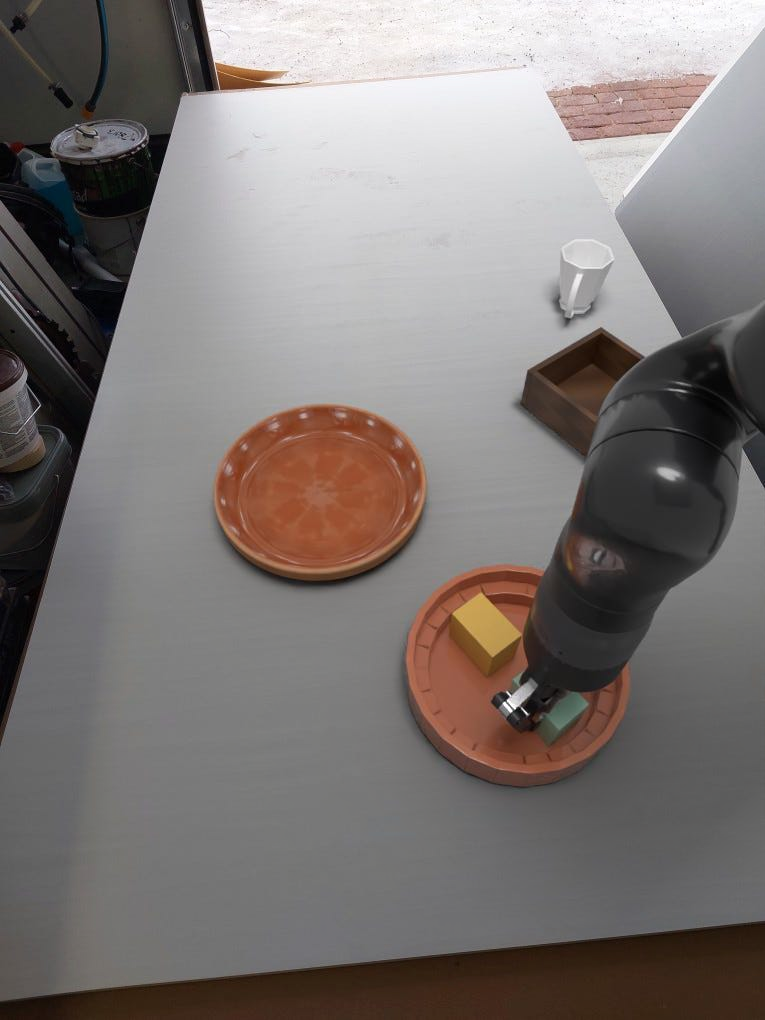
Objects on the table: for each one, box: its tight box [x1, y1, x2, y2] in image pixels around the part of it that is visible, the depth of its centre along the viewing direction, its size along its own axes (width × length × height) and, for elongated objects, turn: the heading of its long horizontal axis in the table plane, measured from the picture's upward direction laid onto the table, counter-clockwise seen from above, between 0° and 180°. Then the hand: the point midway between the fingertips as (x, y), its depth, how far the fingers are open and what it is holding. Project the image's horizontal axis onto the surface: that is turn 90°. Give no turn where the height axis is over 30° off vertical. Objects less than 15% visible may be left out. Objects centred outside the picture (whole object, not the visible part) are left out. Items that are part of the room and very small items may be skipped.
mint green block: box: [509, 669, 589, 747], centre depth 60 cm, size 6×4×4 cm, turn 37°
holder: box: [520, 326, 646, 458], centre depth 82 cm, size 15×13×6 cm
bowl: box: [404, 563, 631, 788], centre depth 62 cm, size 19×19×4 cm
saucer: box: [212, 403, 428, 582], centre depth 75 cm, size 23×23×4 cm
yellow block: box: [449, 593, 522, 677], centre depth 64 cm, size 6×4×4 cm, turn 37°
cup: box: [558, 238, 615, 319], centre depth 92 cm, size 7×10×8 cm
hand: (543, 706), depth 61 cm, fingers closed on mint green block, 3 cm apart
